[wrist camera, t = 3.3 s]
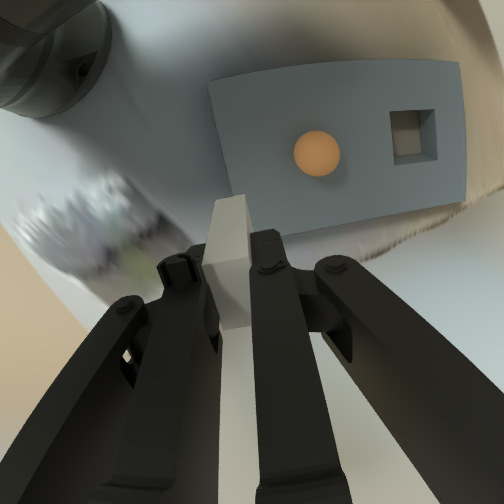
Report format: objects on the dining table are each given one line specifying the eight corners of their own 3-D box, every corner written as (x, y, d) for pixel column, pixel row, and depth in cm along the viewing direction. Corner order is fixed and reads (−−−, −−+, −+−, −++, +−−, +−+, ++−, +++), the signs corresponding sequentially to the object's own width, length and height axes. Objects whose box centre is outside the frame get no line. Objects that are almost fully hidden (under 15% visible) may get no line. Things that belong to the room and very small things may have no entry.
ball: (294, 174, 29) (302, 185, 25) (286, 132, 27) (294, 137, 23) (335, 166, 29) (348, 177, 25) (329, 125, 27) (343, 130, 23)
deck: (243, 229, 35) (244, 243, 32) (209, 83, 28) (206, 82, 25) (449, 191, 34) (465, 201, 30) (441, 62, 26) (458, 62, 23)
